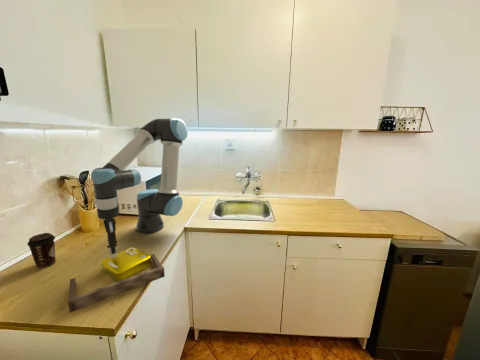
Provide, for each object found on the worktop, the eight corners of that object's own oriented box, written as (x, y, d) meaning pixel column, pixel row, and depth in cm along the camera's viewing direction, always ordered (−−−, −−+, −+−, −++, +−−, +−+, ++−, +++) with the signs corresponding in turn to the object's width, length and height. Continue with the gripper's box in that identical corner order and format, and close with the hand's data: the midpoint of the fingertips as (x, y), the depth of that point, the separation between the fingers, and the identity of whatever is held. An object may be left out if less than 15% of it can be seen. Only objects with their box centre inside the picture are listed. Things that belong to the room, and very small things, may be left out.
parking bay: (154, 259, 97) (154, 251, 96) (164, 276, 85) (164, 267, 84) (71, 286, 79) (69, 276, 78) (69, 312, 68) (67, 301, 67)
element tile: (99, 270, 89) (98, 260, 88) (133, 254, 101) (132, 244, 100) (118, 284, 81) (117, 273, 80) (153, 264, 93) (152, 255, 92)
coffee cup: (57, 256, 98) (52, 230, 95) (61, 263, 93) (56, 235, 90) (31, 264, 91) (25, 237, 89) (34, 272, 86) (28, 243, 83)
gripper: (95, 204, 89) (102, 254, 94) (97, 213, 79) (105, 269, 84) (116, 201, 94) (121, 249, 99) (120, 210, 83) (126, 263, 88)
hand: (114, 258), depth 91 cm, fingers closed
